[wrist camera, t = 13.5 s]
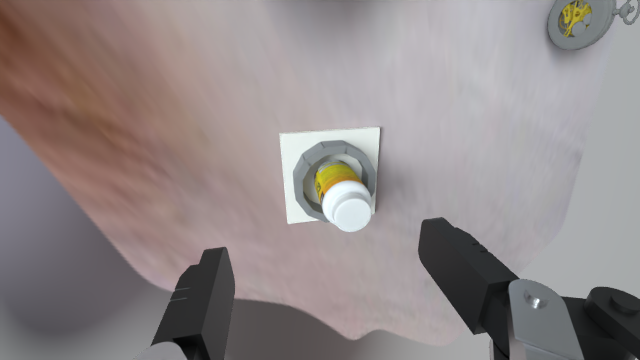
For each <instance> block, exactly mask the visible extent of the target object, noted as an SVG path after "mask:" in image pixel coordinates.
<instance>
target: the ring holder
mask: <svg viewBox="0 0 640 360" xmlns="http://www.w3.org/2000/svg"><path fill="white" fill-rule="evenodd" d="M279 134H280V145H281V156H282V167H283V178H284V189H285V200H286V211H287V222H288V224H291V223H299V222H308V221H317V220H321V221H324V222H330V221H329V220H328V219H327V218H326V217H325V215H324V213H323V210H322V207H321V204H320V201H319V198H318V195H317V192H316V189H315V186H314V174H315V172H316V170H317V168H318V167H319V166H320V165H321V164H323V163H324V162H326V161H329V160H335V159H336V160H341V161H344V162H346V163H347V164H348V165H349V166H350V167H351V168H352V169H353V171H354V172H355V173H356V175H357V176H358V177H359V179H360V180H361V181H362V183H363V184H364V185H365V187H366V188H367V190H368V191H369V193H370V196H371V207H370V208H371V214H375V199H376V183H377V167H378V152H379V136H380V127H378V126H376V127H361V128H346V129H331V130H316V131H301V132H286V133H279Z"/></svg>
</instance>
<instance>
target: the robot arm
mask: <svg viewBox="0 0 640 360" xmlns="http://www.w3.org/2000/svg"><path fill="white" fill-rule="evenodd" d="M418 253H419V258H420V260H421V263H422V264H423V266H424V267H425V268H426V270H427V271H428V273H429V274H430V275H431V277H432V278H433V279H434V281H435V282H436V284H437V285H438V286H439V288H440V289H441V290H442V292H443V293H444V295H445V296H446V297H447V299H448V300H449V301H450V303H451V304H452V306H453V307H454V308H455V310H456V311H457V312H458V314H459V315H460V317H461V318H462V319H463V321H464V322H465V323H466V325H467V326H468V328H469V329H470V330H471V332H472V333H473V334H474V335H475V334H480V333H485V332H487V333H488V334H489V336H490V337H491V340H490V346H489V348H490V360H635V358H637V359H638V360H640V299H638V298H637V297H635V296H633V295H631V294H628V293H626V292H624V291H620V290H617V289H614V288H609V287H595V288H593V289H592V290H591V291H590V293H589V295H588V297H587V299H582V298H571V297H562V296H559V295H558V294H557V293H556V292H555V291H553V290H552V289H550V288H548V287H547V286H545V285H543V284H541V283H538V282H535V281H532V280H527V279H519V278H518V277H517V276H516V275H515V274H514V273H513V272H512V271H510V270H509V269H508V268H507V267H506V266H505V265H504V264H503V263H502V262H500V261H499V260H498V259H497V258H496V257H495V256H494V255H493V254H491V253H490V252H488V251H487V249H486V248H485V247H484V246H482V245H480V244H479V242H478V241H477V240H476V239H475V238H474V237H472V236H471V235H470V234H468V233H467V232H465V231H463V230H461V229H459V228H454V227H453V226H452V225H451V224H450V223H449V222H448V221H447V220H446V219H444V218H442V217H440V218H433V219H426V220H423V222H422V225H421V232H420V240H419V247H418ZM234 294H235V280H234V275H233V271H232V267H231V263H230V259H229V255H228V251H227V248H226V247H220V248H213V249H206V250H204V252H203V254H202V257H201V260H200V263H199V264H198V265H191V266H190V267H189V268H188V269H187V270H186V271H185V272H184V273H183V274H182V275H181V276H180V278H179V281H178V283H177V285H176V288H175V292H173V295H172V297H171V299H170V300H171V301H170V302H169V304H168V306H167V309H166V311H165V313H164V316H163V319H162V320H161V323H160V325H159V327H158V330H157V332H156V335H155V337H154V339H153V342H152V344H151V346H150V347H149V348H147V349H145V350H144V351H142V352H141V353H140V354H139V355H137V356H136V357H135V358H134V359H133V360H224V355H225V349H226V343H227V337H228V331H229V325H230V319H231V312H232V306H233V300H234Z"/></svg>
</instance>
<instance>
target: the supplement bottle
mask: <svg viewBox="0 0 640 360" xmlns="http://www.w3.org/2000/svg"><path fill="white" fill-rule="evenodd" d="M314 186H315V189H316V192H317V195H318V198H319V201H320V204H321V207H322V210H323V213H324V215H325V217H326V218H327V219H328V220H329V221H330V222H331V223H333V224H335V225H337V227H338V228H340V229H341V230H343V231H346V232H354V231H358V230H360V229H362V228H363V227H365V226H366V225H367V223H368V222H369V220H370V218H371V208H370V207H371V196H370V193H369V191H368V190H367V188H366V187H365V185H364V184H363V183H362V181H361V180H360V179H359V177H358V176H357V175H356V173H355V172H354V171H353V169H352V168H351V167H350V166H349V165H348V164H347V163H346V162H344V161H341V160H336V159H335V160H329V161H326V162H324V163H323V164H321V165H320V166H319V167H318V168H317V170H316V172H315V174H314Z"/></svg>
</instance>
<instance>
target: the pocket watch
mask: <svg viewBox="0 0 640 360" xmlns="http://www.w3.org/2000/svg"><path fill="white" fill-rule="evenodd" d="M630 1H631V0H628V1H627V2H626V3H625V4H624V5H622V7H621V8H620V9H616V0H557V1H556V2H555V4H554V6H553V8H552V10H551V12H550V15H549V19H548V32H549V36H550V38H551V40H552V41H553V43H554V44H555V45H557V46H558V47H560V48H562V49H566V50H578V49H581V48H585V47H587V46H590V45H592V44H594V43H595V42H596V41H598V40H599V39H600V38H602V37H603V35H604V34H605V33H606V32H607V31H608V29H609V28H610V26H611V24H612V22H613V20H614V17H615V15H617V14H619V16H620V17H621V18H623V21H624V23H625V24H627V25H631V24H632V23H634V22H635V20H636V19H637V18H638V16H639V13H640V0H637V1H638V10H637V13H636V16H635V17H634V18H633V20H632V21H631V22H629V21H628V20H627V18H626V16H627V15H628V14H629V13H631V12H633V11H634V6H633V7H631V6H630V4H629V2H630Z"/></svg>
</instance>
